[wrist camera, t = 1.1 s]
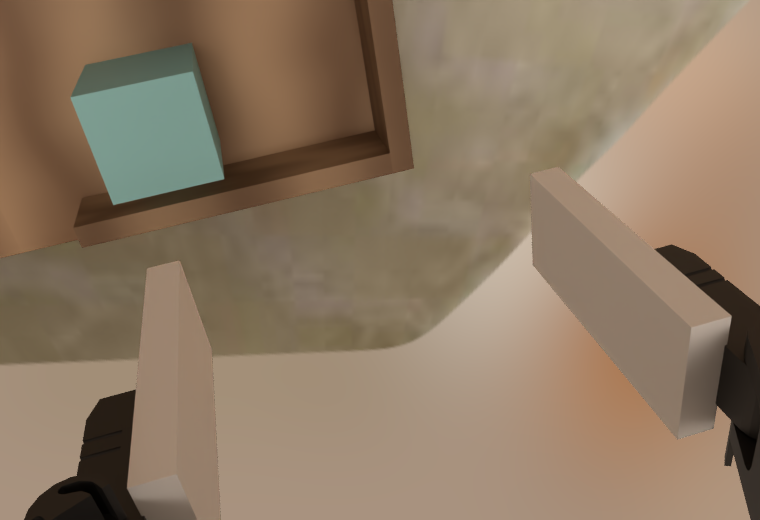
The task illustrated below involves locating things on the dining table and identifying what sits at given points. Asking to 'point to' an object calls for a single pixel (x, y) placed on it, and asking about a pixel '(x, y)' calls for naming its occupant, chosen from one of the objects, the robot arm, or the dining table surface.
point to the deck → (226, 98)
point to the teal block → (149, 123)
